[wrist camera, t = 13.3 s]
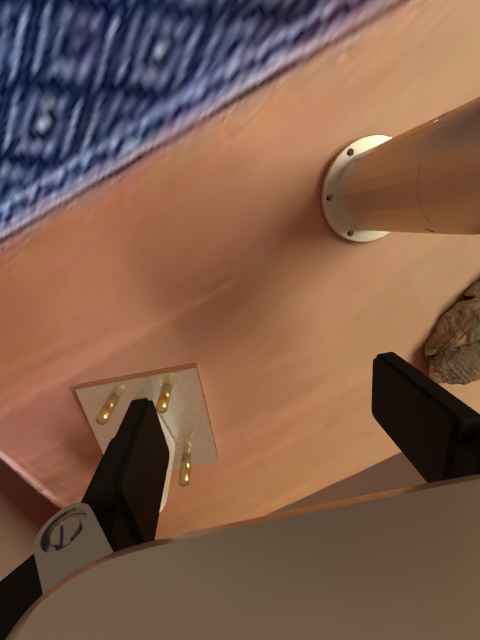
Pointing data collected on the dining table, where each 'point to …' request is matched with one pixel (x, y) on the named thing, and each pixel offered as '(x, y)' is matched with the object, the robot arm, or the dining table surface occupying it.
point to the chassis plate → (174, 418)
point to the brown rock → (456, 342)
